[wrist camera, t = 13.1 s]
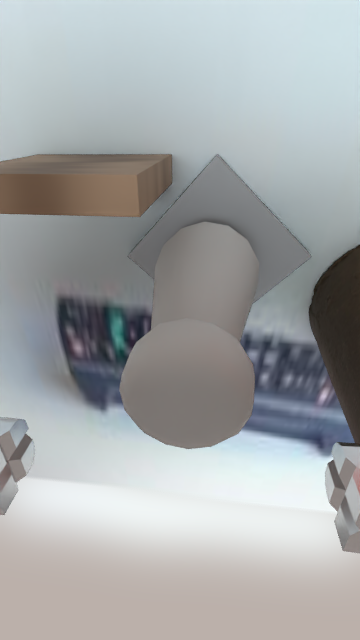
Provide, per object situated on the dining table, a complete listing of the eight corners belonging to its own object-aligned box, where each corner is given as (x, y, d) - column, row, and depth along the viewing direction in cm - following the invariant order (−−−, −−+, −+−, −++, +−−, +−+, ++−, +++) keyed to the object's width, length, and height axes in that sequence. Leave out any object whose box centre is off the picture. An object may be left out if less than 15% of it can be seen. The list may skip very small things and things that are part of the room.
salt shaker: (231, 313, 23) (229, 498, 12) (152, 281, 22) (71, 441, 11) (274, 234, 20) (327, 383, 9) (183, 196, 19) (115, 299, 8)
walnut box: (171, 154, 19) (136, 174, 12) (172, 182, 20) (139, 216, 13) (38, 154, 20) (-64, 173, 13) (43, 181, 21) (-50, 212, 14)
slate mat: (215, 327, 24) (215, 333, 24) (130, 252, 22) (127, 256, 22) (308, 252, 21) (311, 257, 20) (217, 153, 19) (216, 155, 18)
